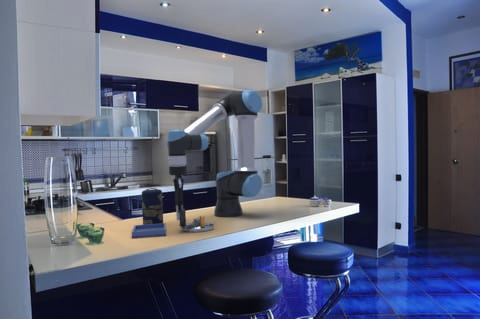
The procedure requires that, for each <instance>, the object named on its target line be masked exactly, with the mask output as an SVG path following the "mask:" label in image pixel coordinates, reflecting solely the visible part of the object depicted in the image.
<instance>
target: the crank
mask: <svg viewBox="0 0 480 319" xmlns="http://www.w3.org/2000/svg"><path fill="white" fill-rule="evenodd" d="M179 216H180V220H179V227H180V228H181V229H182V230H183V229H187V228H191V227H195V226H200V217H199V218H198V217H197V218H193V222H190V224H189V223H187V219H186V217H187V216H186V208H183V209H180V210H179Z"/></svg>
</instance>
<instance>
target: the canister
mask: <svg viewBox="0 0 480 319" xmlns="http://www.w3.org/2000/svg"><path fill="white" fill-rule="evenodd" d="M163 203H164V202H163V191H162V189H158V188H155V187H150V188H146V189H144V190H142V191H141V208H142V209H141V210H142V213H141V214H142V215H141V216H142V225H147V224H162V223H164V208H163V207H164V204H163Z"/></svg>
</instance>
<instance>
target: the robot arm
mask: <svg viewBox="0 0 480 319" xmlns="http://www.w3.org/2000/svg"><path fill="white" fill-rule="evenodd" d="M262 107H263V100H262V97H261V95H260V94H259V92H257V90H254V89H245V90H240V91H235V92H231V93H228V94H226V95H225V96H223V97H222V98H220V99H219V100H218V101H216V102H215V103H214V104H213V105H212V107H211V109H209V110H208V111H206V112H205V113H204V114H202V115H201V116H200V117H199V118H197V119H196V120H194V121H193V122H192V123H191V124H189V125H187V127H185V128H184V129H170V130H168V131H167V139H166V143H165V144H166V148H167V149H168V150H167V151H168V152H167V154H168V158H167V161H168V165H169V167H168V174H169V176H174V178H173V188H174V199H175V200H174V206H175V209H176V210H175V214H176V217H175V218H176V221H180V216H179V210H180V209H184V204H185V203H184V183H185V182H184V179H183V176H184V175H187V174H188V168H187V166H186V165H187V163H188V162H187V152H201V151H205V150H207V149H208V147H209V139H208V136H207V135H206V134H205V133H206V132H208V131H209V130H210V129H211V128H213V127H214V126H215V125H217V123H220V121H221V120H222V121H224V120H226V119H227V118H229V117H232V116H234V118H235V119H236V120H237V167H236V168H235V169H234V170H231V171H223V172H219V173H216V180H215V181H216V205H215V207H214V211H213V212H214V213H213V214H214V216H215V217H221V218H222V217H225V218H229V217H230V218H232V217H239V216H242V215H243V207H242V205H241V202H240V199H239V198H240V197H245V198H254V197H257V196H258V194H259V193H260V192H261V190H262V188H263V180H262V177H261V176H260V175H259V174H258V169H257V168H256V167H255V120H256V119H257V118H258V113H260V112H261V111H262V109H263V108H262Z"/></svg>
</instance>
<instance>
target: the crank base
mask: <svg viewBox="0 0 480 319" xmlns="http://www.w3.org/2000/svg"><path fill="white" fill-rule="evenodd" d="M199 218H200V226H195V227H191V228H187V229H182V231H184V232H187V233H205V232H209V231H213V230H214V229H215V224H214V223H213V222H207V221H206V220H205V219H206V218H205V216H204V215H201V216H199ZM205 221H206V222H205ZM190 223H191V222H190ZM190 223H188V224H190Z"/></svg>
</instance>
